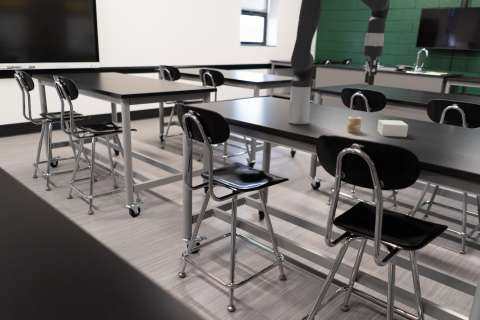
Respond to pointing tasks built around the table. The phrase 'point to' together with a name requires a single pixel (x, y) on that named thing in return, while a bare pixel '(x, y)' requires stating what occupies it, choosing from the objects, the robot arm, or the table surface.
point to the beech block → (354, 124)
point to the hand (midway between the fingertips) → (368, 83)
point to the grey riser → (392, 128)
